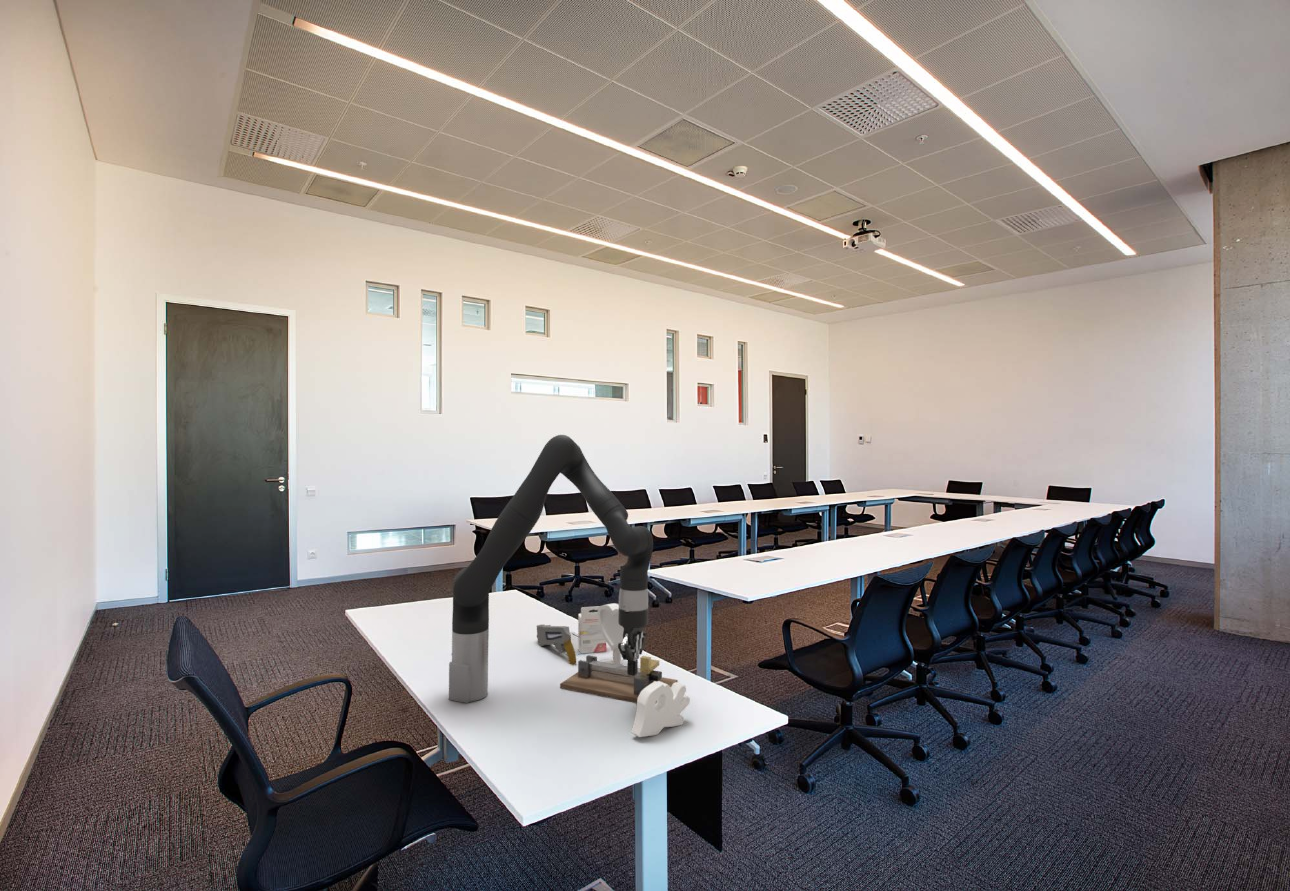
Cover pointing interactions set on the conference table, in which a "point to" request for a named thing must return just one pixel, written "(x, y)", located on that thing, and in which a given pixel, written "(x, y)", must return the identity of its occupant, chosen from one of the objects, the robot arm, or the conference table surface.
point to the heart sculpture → (611, 629)
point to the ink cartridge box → (590, 632)
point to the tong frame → (612, 675)
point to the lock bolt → (647, 664)
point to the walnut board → (605, 687)
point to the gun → (557, 639)
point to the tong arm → (621, 670)
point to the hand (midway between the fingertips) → (632, 674)
